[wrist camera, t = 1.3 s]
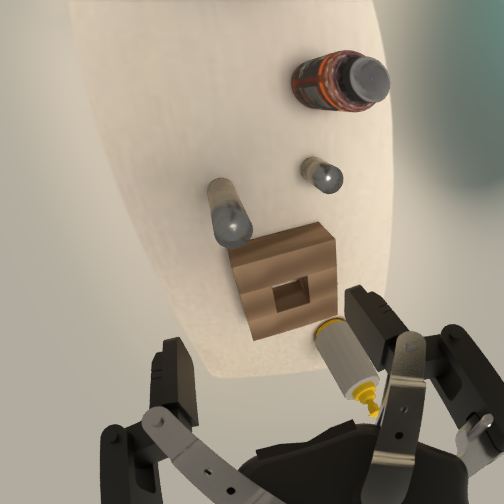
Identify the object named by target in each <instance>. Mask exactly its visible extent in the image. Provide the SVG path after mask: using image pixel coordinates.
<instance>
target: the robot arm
mask: <svg viewBox="0 0 504 504" xmlns="http://www.w3.org/2000/svg"><path fill="white" fill-rule="evenodd" d="M344 313H345V318H346V321H347V323H348V325H349V326H350V328H351V330H352V331H353V333H354V334H355V336H356V338H357V339H358V341H359V342H360V344H361V346H362V347H363V349H364V350H365V352H366V354H367V355H368V357H369V358H370V360H371V362H372V363H373V365H374V367H375V368H376V370H377V371H378V372H379V371H382V370H384V369H385V370H386V371H387V373H388V375H387V379H386V384H385V388H384V393H383V398H382V402H381V406H380V410H379V413H378V416H377V420H376V423H375V424H365V423H363V424H355V423H354V421H353V419H352V420H350V421H347V422H344V423H342V424H339V425H337V426H334V427H331V428H329V429H328V430H326V431H325V432H323V433H321V434H320V435H318V436H316V437H315V438H313V439H312V440H310V441H308V442H303V443H287V444H278V445H274V446H270V447H266V448H262V449H258V450H256V454H257V456H255V457H253V458H251V459H249V460H248V461H247V462H245V463H244V464H243V465H242V466H241V467H240V468H239V469H238V470H236V469H235V468H233V467H232V466H231V465H230V464H228V463H227V462H226V461H225V460H223V459H222V458H221V457H220V456H218V455H217V454H216V453H215V452H214V451H212V450H211V449H210V448H209V447H208V446H207V445H205V444H204V443H203V442H202V441H201V440H199V439H198V438H197V437H196V436H195V435H194V434H193V433H192V427H194V426H198V425H199V423H198V413H197V402H196V391H195V377H194V366H193V362H192V359H191V357H190V355H189V353H188V351H187V349H186V348H185V346H184V344H183V342H182V340H181V339H180V337H175V338H171V339H167V340H164V341H163V352H158V353H156V355H155V357H154V359H153V361H152V368H151V372H152V373H151V384H150V407H149V410H148V411H147V412H146V413H145V414H144V415H143V418H142V420H141V421H140V422H138V423H136V424H134V425H131V426H129V427H126V428H123V427H122V426H120V425H117V424H114V425H110V426H108V427H107V428H105V429H104V431H103V432H102V434H101V440H100V489H101V490H100V491H101V504H163V500H162V493H161V486H160V478H159V470H158V462H159V461H161V460H163V459H166V458H168V457H169V458H170V459H171V462H172V464H173V465H174V466H175V467H176V468H177V469H178V470H179V471H180V472H181V473H182V474H183V475H184V476H185V477H186V478H187V479H188V480H189V481H190V482H191V483H192V484H193V485H194V486H195V487H197V488H198V489H199V490H200V491H201V492H202V493H203V494H204V495H205V496H207V497H208V498H209V499H210V500H211V501H212V502H214V503H215V504H469V502H468V492H467V491H468V478H469V477H471V476H472V475H474V474H475V473H476V472H478V471H479V470H480V469H482V468H483V467H485V466H486V465H488V464H490V463H491V462H493V461H495V460H496V459H497V458H499V457H500V456H502V455H503V454H504V382H503V381H502V379H501V378H500V376H499V375H498V374H497V372H496V371H495V369H494V368H493V366H492V365H491V364H490V362H489V361H488V359H487V358H486V357H485V355H484V354H483V353H482V351H481V350H480V349H479V347H478V346H477V345H476V344H475V342H474V341H473V340H472V338H471V337H470V336H469V335H468V334H467V332H466V331H465V330H464V329H463V328H462V327H460V326H459V325H455V324H450V325H447V326H445V327H444V328H443V329H442V331H441V334H438V335H433V336H426V337H423V336H422V335H421V334H419V333H417V332H414V331H409V330H408V329H407V327H406V326H405V325H404V324H403V322H402V321H401V320H400V318H399V317H398V316H397V315H396V314H395V312H394V311H393V310H392V309H391V308H390V306H389V305H387V303H386V302H385V300H384V299H383V298H382V297H381V296H380V295H378V294H376V293H374V292H373V291H372V292H369V293H367V292H366V291H365V289H364V288H363V287H362V286H361V285H357V286H354V287H351V288H348V289H346V290H345V308H344ZM425 379H430V380H431V382H432V383H433V385H434V387H435V388H436V390H437V392H438V393H439V395H440V397H441V399H442V400H443V402H444V404H445V406H446V407H447V409H448V411H449V413H450V415H451V416H452V418H453V420H454V422H455V424H456V426H457V428H458V429H459V431H458V432H457V435H456V446H457V449H458V452H457V456H456V455H453V454H451V453H448V452H445V451H442V450H439V449H437V448H434V447H431V446H428V445H425V444H423V443H420V442H418V438H419V432H420V427H421V421H422V415H423V407H424V400H425V392H426V382H424V380H425Z"/></svg>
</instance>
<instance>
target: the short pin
mask: <svg viewBox="0 0 504 504" xmlns="http://www.w3.org/2000/svg"><path fill="white" fill-rule="evenodd" d="M301 175H302V177H303V178H304V179H305V180H307V181H308V182H310V183H311V184H312V185H314V186H315V187H316V188H318V189H319V190H321V191H322V192H323V193H326V194H333V193H335V192H337V191H338V190H339V189H340V188H341V186H342V184H343V174H342V172H341V171H340V169H338V168H337V167H335V166H333V165H331V164H329V163H327V162H325V161H323V160H320V159H318V158H316V157H310V158H307V159H306V160H305V161H304V162H303V163H302V165H301Z"/></svg>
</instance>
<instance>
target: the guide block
mask: <svg viewBox="0 0 504 504" xmlns="http://www.w3.org/2000/svg"><path fill="white" fill-rule="evenodd" d="M227 250H228V254H229V258H230V262H231V266H232V270H233V273H234V277H235V280H236V284H237V287H238V291H239V294H240V297H241V301H242V304H243V308H244V311H245V314H246V318H247V321H248V324H249V328H250V331H251V334H252V338H253V341H255V340H259V339H262V338H266V337H269V336H273V335H276V334H279V333H283V332H286V331H289V330H293V329H296V328H299V327H302V326H305V325H308V324H312V323H315V322H318V321H321V320H324V319H327V318H329V317H332V316H335V315H338V309H337V262H336V241H335V238H334V237H333V236H332V235H331V234H330V233H329V232H328V231H327V230H326V229H325V228H324V227H323V226H322V225H321V224H320V223H319V222H316V223H313V224H309V225H305V226H301V227H297V228H294V229H290V230H286V231H282V232H279V233H275V234H271V235H267V236H264V237H260V238H256V239H252V240H249V241H248V242H247V243H246V244H245V245H244V246H242V247H239V248H236V249H229V248H227ZM297 278H298V281H296V282H293V283H290V284H286V285H283V286H279V287H276V288H272V286H273V285H277V284H280V283H284V282H287V281H290V280H294V279H297Z"/></svg>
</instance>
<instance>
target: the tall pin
mask: <svg viewBox="0 0 504 504" xmlns="http://www.w3.org/2000/svg"><path fill="white" fill-rule="evenodd" d="M207 192H208V199H209V205H210V211H211V218H212V224H213V230H214V235H215V239H216V240H217V242H218V243H219V244H220V245H221V246H223V247H225V248H229V249H236V248H239V247H242V246H244V245H245V244H246V243H247V242H248V241H249V240H250V238H251V236H252V233H253V227H252V224H251V222H250V220H249V217H248V215H247V213H246V211H245V209H244V207H243V205H242V203H241V201H240V199H239V197H238V195H237V193H236V191H235V188H234V186H233V184H232V183H231V182H230V181H229V180H227V179H224V178H218V179H215V180H213V181H212V182H211V183H210V185H209V186H208V191H207Z"/></svg>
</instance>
